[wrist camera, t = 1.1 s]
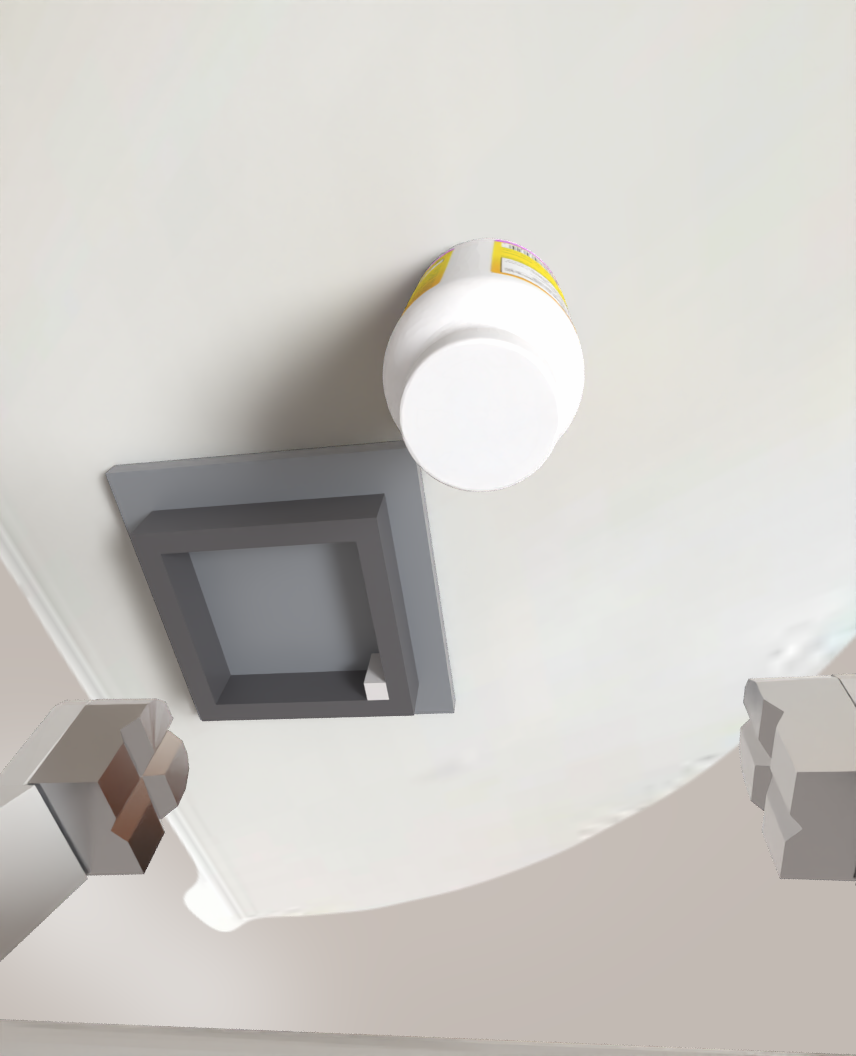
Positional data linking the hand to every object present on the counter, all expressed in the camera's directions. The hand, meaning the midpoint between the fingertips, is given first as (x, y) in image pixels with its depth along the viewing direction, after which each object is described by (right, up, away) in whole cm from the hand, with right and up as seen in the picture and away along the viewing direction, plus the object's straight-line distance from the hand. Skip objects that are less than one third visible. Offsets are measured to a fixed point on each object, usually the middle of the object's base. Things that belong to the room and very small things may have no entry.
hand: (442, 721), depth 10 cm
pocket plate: (-8, -1, +30) cm, 31 cm away
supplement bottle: (+3, +12, +21) cm, 25 cm away
